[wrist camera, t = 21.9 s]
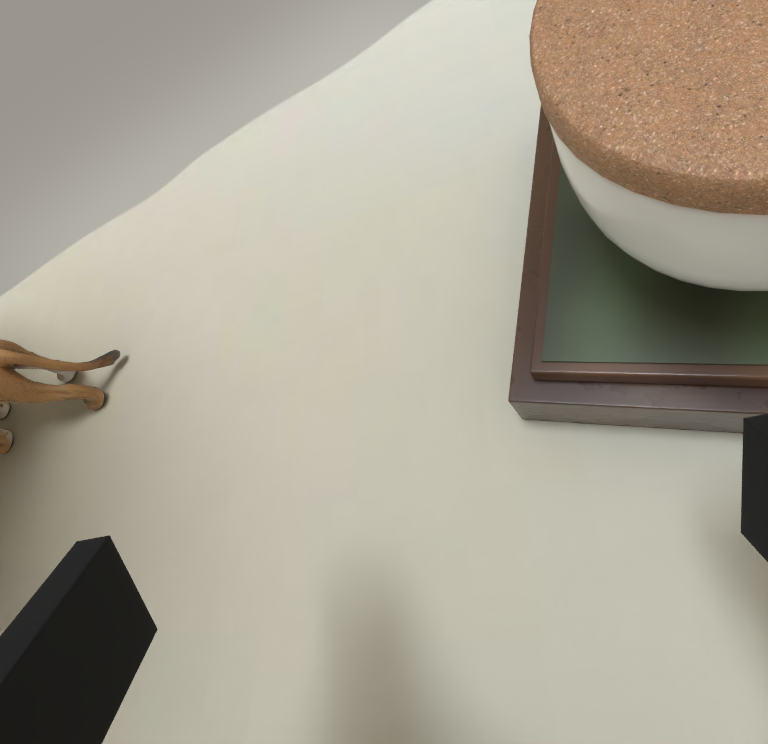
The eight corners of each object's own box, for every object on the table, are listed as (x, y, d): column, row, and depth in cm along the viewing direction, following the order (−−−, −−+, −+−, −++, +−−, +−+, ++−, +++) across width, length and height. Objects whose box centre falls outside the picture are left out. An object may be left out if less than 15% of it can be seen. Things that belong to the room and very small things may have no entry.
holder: (521, 419, 21) (501, 393, 18) (551, 126, 25) (539, 69, 22) (1038, 452, 15) (1126, 420, 12) (967, 55, 19) (1022, -38, 16)
